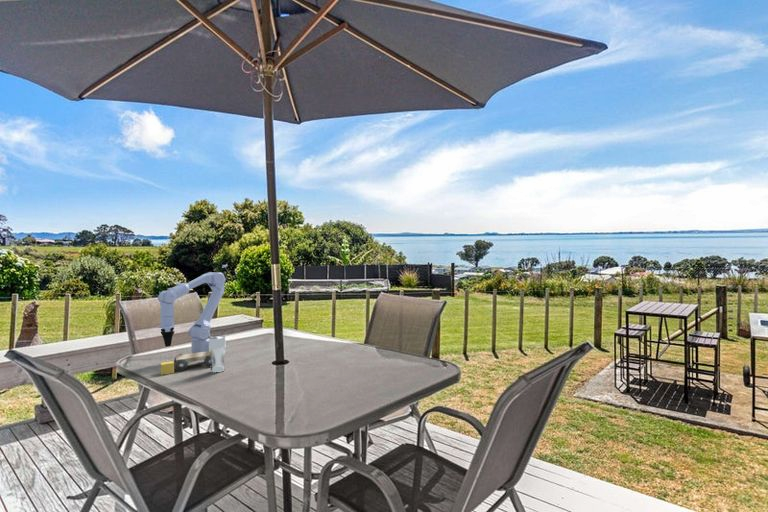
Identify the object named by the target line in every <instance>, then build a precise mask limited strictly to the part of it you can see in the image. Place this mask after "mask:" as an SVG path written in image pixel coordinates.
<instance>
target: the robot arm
mask: <svg viewBox="0 0 768 512" xmlns="http://www.w3.org/2000/svg"><path fill="white" fill-rule="evenodd" d="M226 280H227V279H226V277H225V275H224V274H223V272H220V271H219V272H212V271H209V272H206V273H204V274H203V273H202V274H201V275H200V276H198V277H196V278H195V279H193V280H191V281H188V282H186V283H184V282H179V283H177V284H176V285H174V286H173V287H169V288H167V290H163V291H160V293H159V294H158V296H157V300H158V302H159V303H160V305H159V308H160V309H159V315H160V320H159V321H160V325H157V329H158V328H159V329H160V330H161V331H160V334H161V336H162V338H163V342H164V345H165V347H166V348H167V347H171V345H172V341H173V337H174V334H175V330H174V329H175V301H176V300H177V299H179V298H182V297H183V296H186V295H187V294H189V292H190V290H192V289H194V288H197V287H198V286H201V285H203V284H207V285H208V286H209V288H210V289H211V293H210V296H209V298H208V300H207V302H206V304H205V306H204V308H203V310H202V312H201V314H200V316H199V319H197V320H196V321H195V322H194V323H193V325H192V326H191V327H190V328H189V330H188V335H189V337H190V338H191V340H190V341H191V345H190V348H191V353H199V352H206V351H209V337H210V331H211V328H212V326H211V321H212V319H213V317H214V315H215V312H216V310H217V308H218V306H219V304H220V302H221V300H222V298H223V295H224V293H225V282H226Z"/></svg>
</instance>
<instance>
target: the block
mask: <svg viewBox="0 0 768 512" xmlns="http://www.w3.org/2000/svg"><path fill="white" fill-rule="evenodd" d="M170 373H171V374H175V362H174V360H172V361H171V360H169V361H165V362H164V361H163V362H160V375H161V376H163V374H165V375H169V374H170ZM171 374H170V375H171Z"/></svg>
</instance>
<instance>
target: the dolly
mask: <svg viewBox="0 0 768 512" xmlns="http://www.w3.org/2000/svg"><path fill="white" fill-rule="evenodd" d="M173 361H174V369H175V370H176V371H178V372H184V371H185V370H186V369H187V368H188V366H189V365H188V364H189V363H188V362H195V361H204V365H205V366H206V367H208V366H211V359H210V354H209V351H206V352H199V353H192V352H190V353H185V354H183V353H179V354H177V355H175V356H174V359H173ZM183 370H184V371H183Z"/></svg>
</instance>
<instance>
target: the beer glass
mask: <svg viewBox="0 0 768 512" xmlns="http://www.w3.org/2000/svg"><path fill="white" fill-rule="evenodd" d="M208 339H209V354H210V359H211V367H210V373H211V372H213V373H212V374H217V373H216V372H221V373H223V372H222V371H224V370H225V371H226V366H225V357H226V353H227V352H226V351H227V344H226V336H225V335H216V336H211V337H210V336H209V337H208ZM225 371H224V372H225ZM214 372H215V373H214Z"/></svg>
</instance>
